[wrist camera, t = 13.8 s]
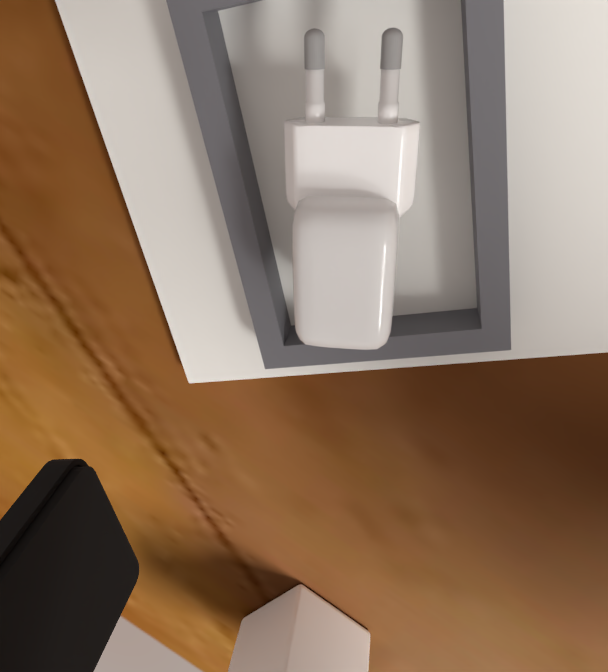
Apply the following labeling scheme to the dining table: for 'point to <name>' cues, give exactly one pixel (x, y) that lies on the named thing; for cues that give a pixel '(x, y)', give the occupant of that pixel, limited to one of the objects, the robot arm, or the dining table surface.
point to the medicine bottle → (300, 637)
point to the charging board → (361, 101)
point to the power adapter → (348, 205)
